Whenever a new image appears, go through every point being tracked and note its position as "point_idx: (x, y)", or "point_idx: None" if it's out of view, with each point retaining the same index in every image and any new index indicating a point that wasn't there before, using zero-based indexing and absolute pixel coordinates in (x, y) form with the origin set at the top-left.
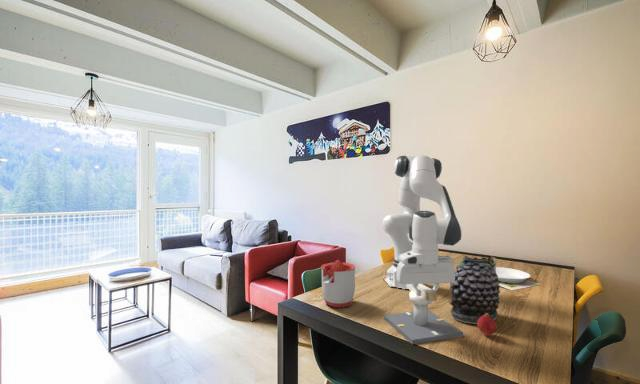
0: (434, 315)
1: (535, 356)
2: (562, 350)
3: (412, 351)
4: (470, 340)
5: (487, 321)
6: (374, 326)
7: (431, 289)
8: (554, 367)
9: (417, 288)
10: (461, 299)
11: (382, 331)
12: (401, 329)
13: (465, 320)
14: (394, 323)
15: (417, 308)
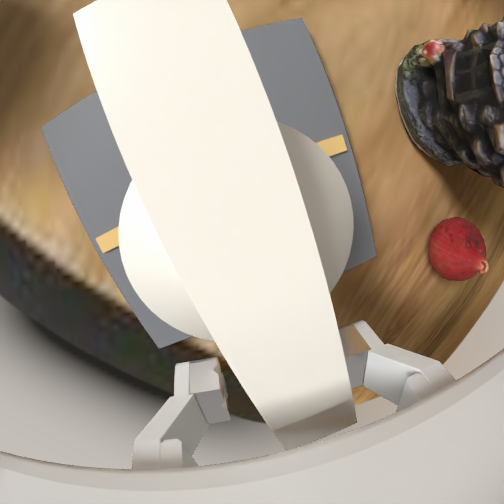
0: (318, 88)
1: (454, 318)
2: (501, 279)
3: (160, 371)
4: (375, 275)
5: (462, 279)
6: (18, 217)
7: (342, 395)
8: (450, 346)
9: (192, 451)
10: (486, 162)
11: (49, 257)
12: (116, 275)
13: (425, 149)
14: (84, 216)
15: None
